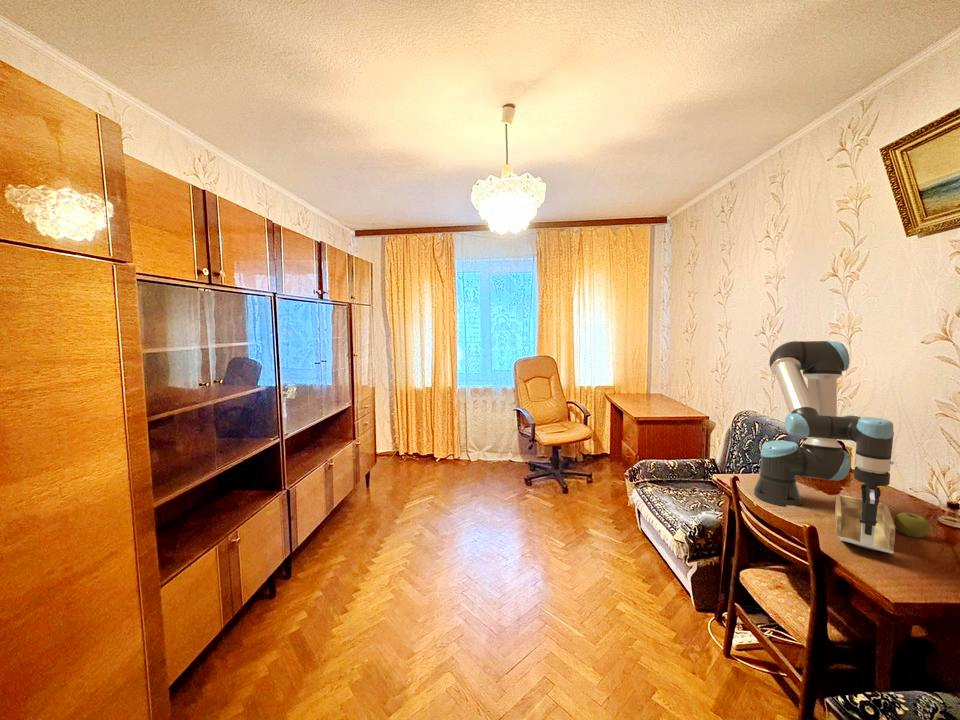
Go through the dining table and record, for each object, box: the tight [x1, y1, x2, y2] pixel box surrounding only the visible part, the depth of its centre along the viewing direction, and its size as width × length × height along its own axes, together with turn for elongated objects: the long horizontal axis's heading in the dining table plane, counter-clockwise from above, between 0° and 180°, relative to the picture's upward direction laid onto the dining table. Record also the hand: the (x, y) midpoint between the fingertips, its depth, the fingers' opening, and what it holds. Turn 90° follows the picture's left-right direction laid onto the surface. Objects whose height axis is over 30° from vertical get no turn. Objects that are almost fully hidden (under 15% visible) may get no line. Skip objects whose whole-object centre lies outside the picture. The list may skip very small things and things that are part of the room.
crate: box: [834, 493, 896, 552], centre depth 129 cm, size 13×22×8 cm, turn 138°
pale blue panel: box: [840, 538, 895, 555], centre depth 117 cm, size 11×1×9 cm
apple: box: [893, 512, 931, 539], centre depth 127 cm, size 8×8×7 cm
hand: (866, 543), depth 117 cm, fingers closed
